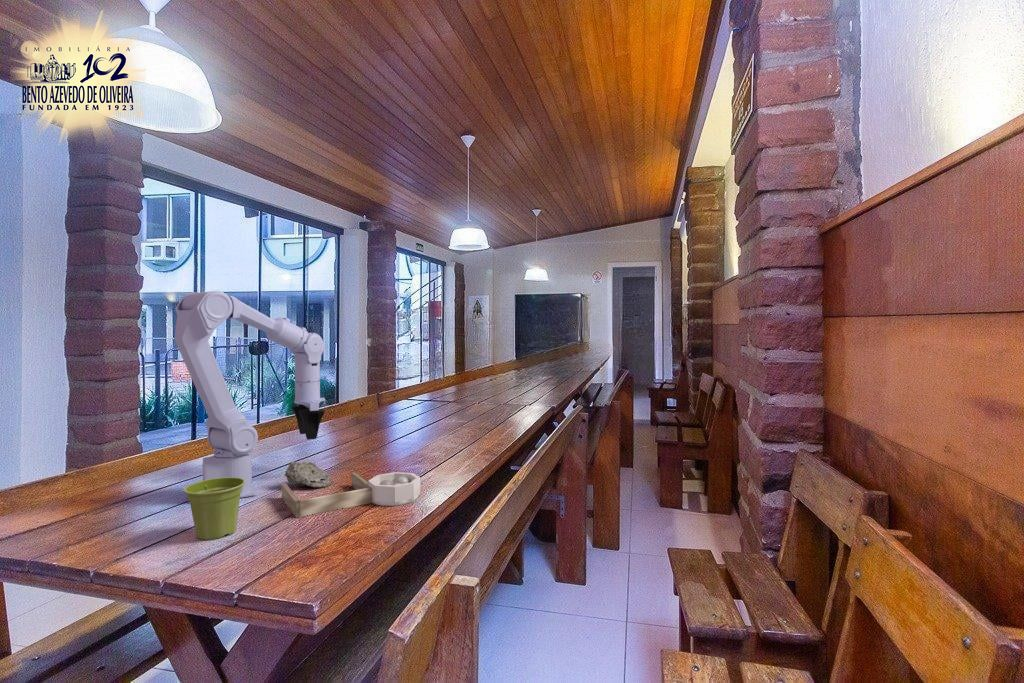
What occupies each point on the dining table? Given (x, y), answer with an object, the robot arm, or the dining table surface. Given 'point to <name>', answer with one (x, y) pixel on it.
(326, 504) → the tray frame
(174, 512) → the dining table surface
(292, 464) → the rock sample
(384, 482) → the pebble
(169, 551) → the dining table surface
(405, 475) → the bowl
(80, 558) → the dining table surface
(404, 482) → the pebble
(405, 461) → the dining table surface
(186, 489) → the plant pot
